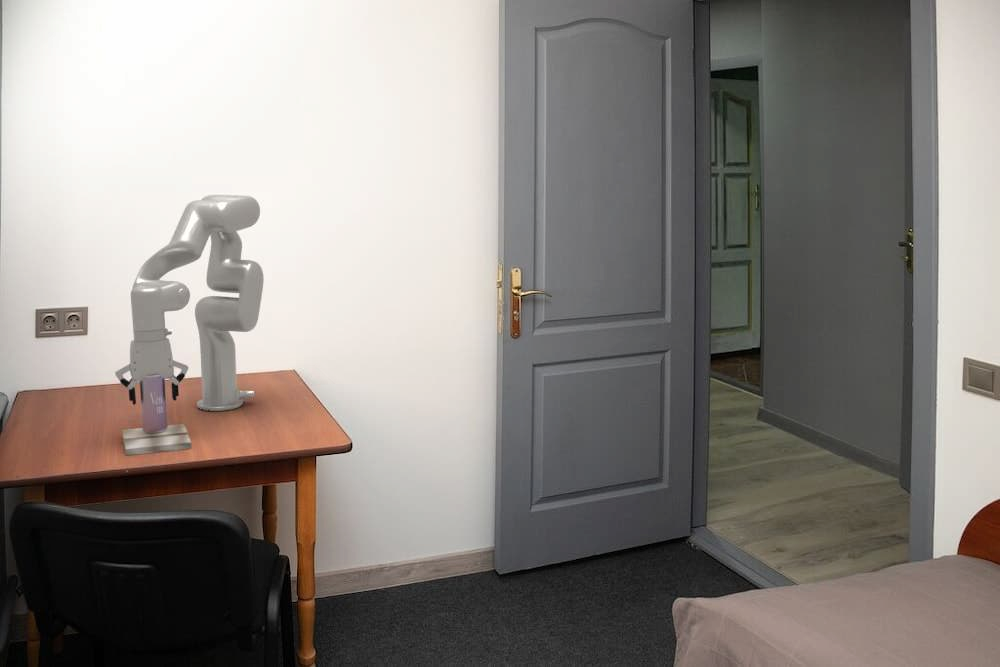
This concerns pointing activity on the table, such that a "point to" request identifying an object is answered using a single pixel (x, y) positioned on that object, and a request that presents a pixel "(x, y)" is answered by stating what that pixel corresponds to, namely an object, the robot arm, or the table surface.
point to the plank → (140, 434)
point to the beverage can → (153, 404)
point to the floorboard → (157, 444)
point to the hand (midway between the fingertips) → (154, 401)
